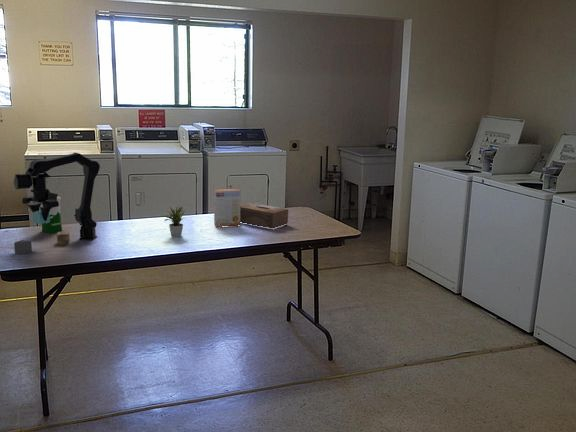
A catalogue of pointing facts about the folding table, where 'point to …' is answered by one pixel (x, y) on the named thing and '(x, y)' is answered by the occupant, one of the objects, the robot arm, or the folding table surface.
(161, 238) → the folding table surface
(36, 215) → the teal block
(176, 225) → the house plant
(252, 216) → the tissue box cover
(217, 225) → the cracker box
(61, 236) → the walnut block
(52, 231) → the milk carton
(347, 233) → the folding table surface
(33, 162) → the robot arm
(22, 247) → the charcoal block
